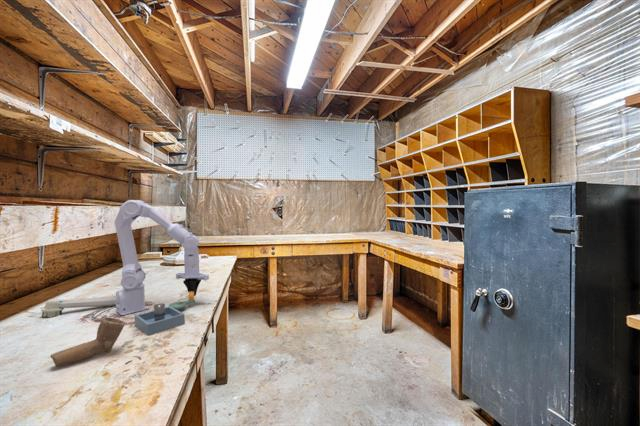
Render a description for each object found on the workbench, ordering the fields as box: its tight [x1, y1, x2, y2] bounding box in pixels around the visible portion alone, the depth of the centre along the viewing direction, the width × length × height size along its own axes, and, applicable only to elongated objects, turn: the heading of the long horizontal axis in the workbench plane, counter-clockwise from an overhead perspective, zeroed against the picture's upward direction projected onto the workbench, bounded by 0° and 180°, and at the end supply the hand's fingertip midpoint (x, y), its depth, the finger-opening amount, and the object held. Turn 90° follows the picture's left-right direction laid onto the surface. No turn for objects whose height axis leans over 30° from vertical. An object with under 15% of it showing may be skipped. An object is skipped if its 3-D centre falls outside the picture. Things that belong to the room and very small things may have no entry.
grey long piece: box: [40, 294, 116, 318], centre depth 118 cm, size 5×7×25 cm
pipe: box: [49, 316, 126, 367], centre depth 82 cm, size 6×17×10 cm, turn 134°
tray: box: [134, 305, 186, 336], centre depth 104 cm, size 12×12×4 cm
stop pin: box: [153, 303, 166, 322], centre depth 104 cm, size 3×3×6 cm
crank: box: [168, 291, 196, 310], centre depth 119 cm, size 10×6×5 cm, turn 145°
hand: (192, 295), depth 125 cm, fingers closed
